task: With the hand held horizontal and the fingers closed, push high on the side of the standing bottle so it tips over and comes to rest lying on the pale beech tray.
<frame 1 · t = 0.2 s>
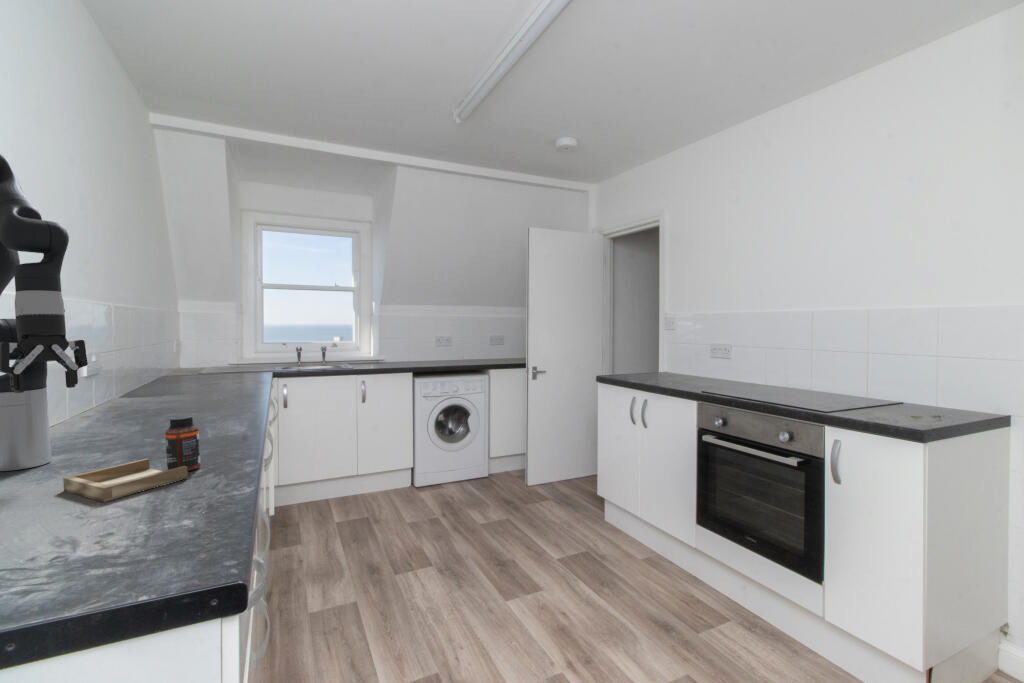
hand: (45, 390, 104), 18 cm above the countertop, tool pointing down, fingers open, 8 cm apart
supplement bottle: (184, 470, 105), on the countertop
beech tray: (127, 484, 95), on the countertop
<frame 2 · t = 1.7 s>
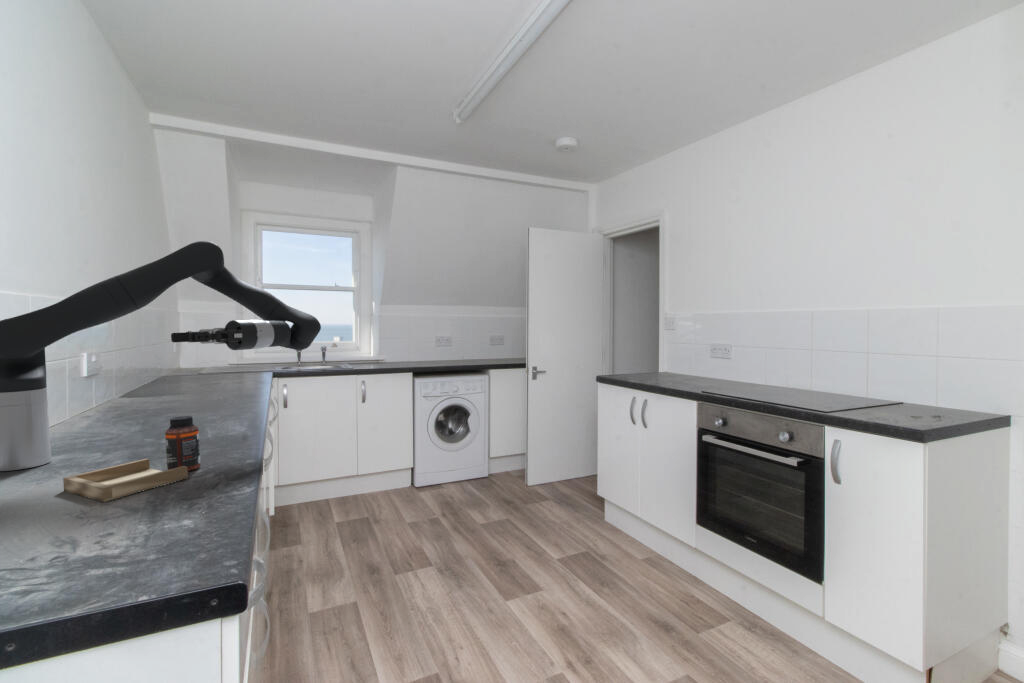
hand: (181, 337, 111), 28 cm above the countertop, tool horizontal, fingers open, 6 cm apart
nothing on the countertop moved.
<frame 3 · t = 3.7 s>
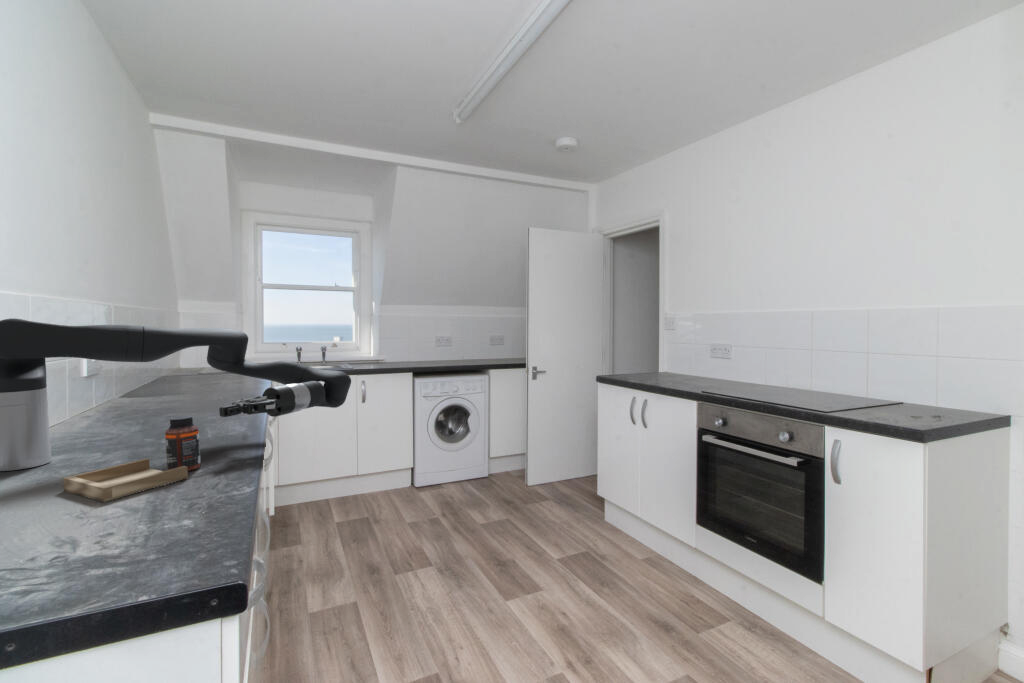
hand: (221, 412, 111), 11 cm above the countertop, tool horizontal, fingers closed
nothing on the countertop moved.
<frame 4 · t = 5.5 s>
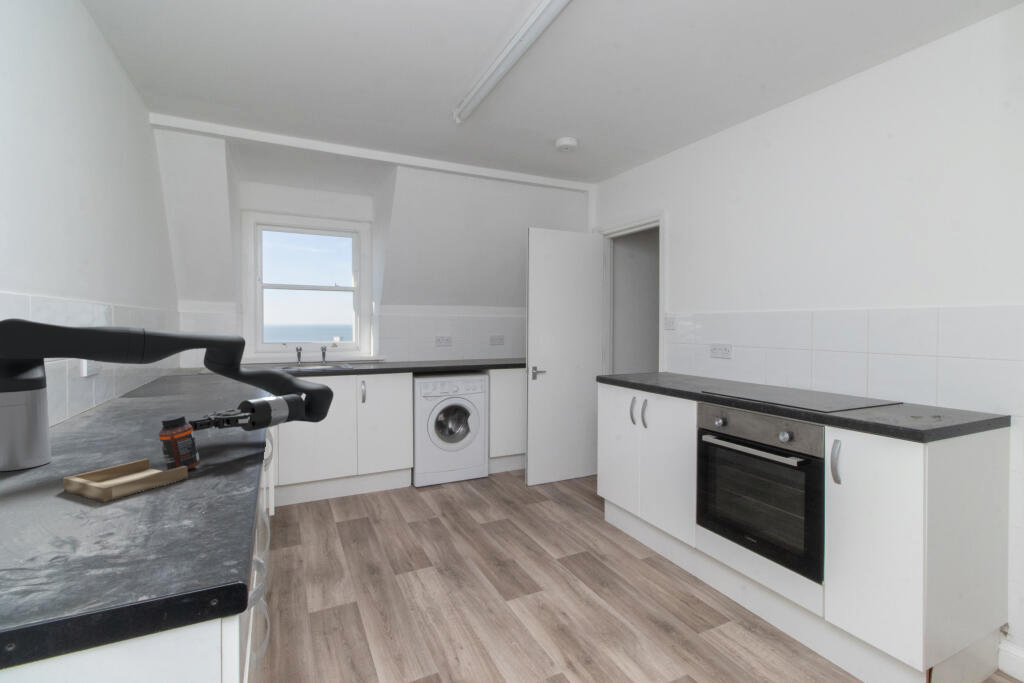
hand: (190, 426, 106), 9 cm above the countertop, tool horizontal, fingers closed
supplement bottle: (184, 468, 105), on the countertop, touching gripper
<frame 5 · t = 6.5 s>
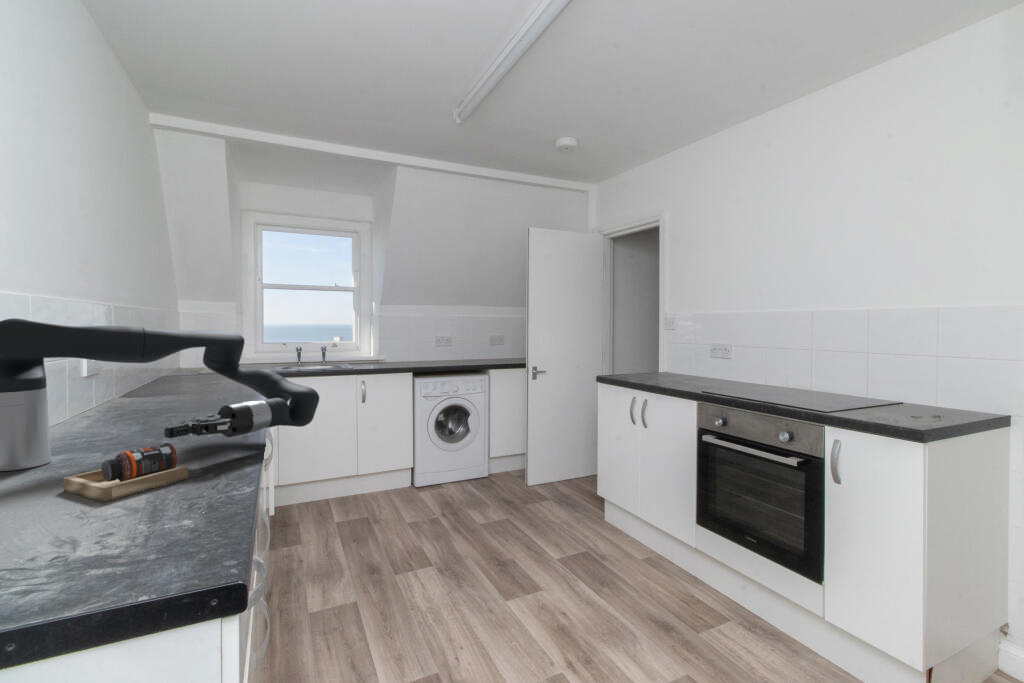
hand: (166, 433, 102), 9 cm above the countertop, tool horizontal, fingers closed
supplement bottle: (172, 456, 103), point 3 cm above the countertop, touching beech tray
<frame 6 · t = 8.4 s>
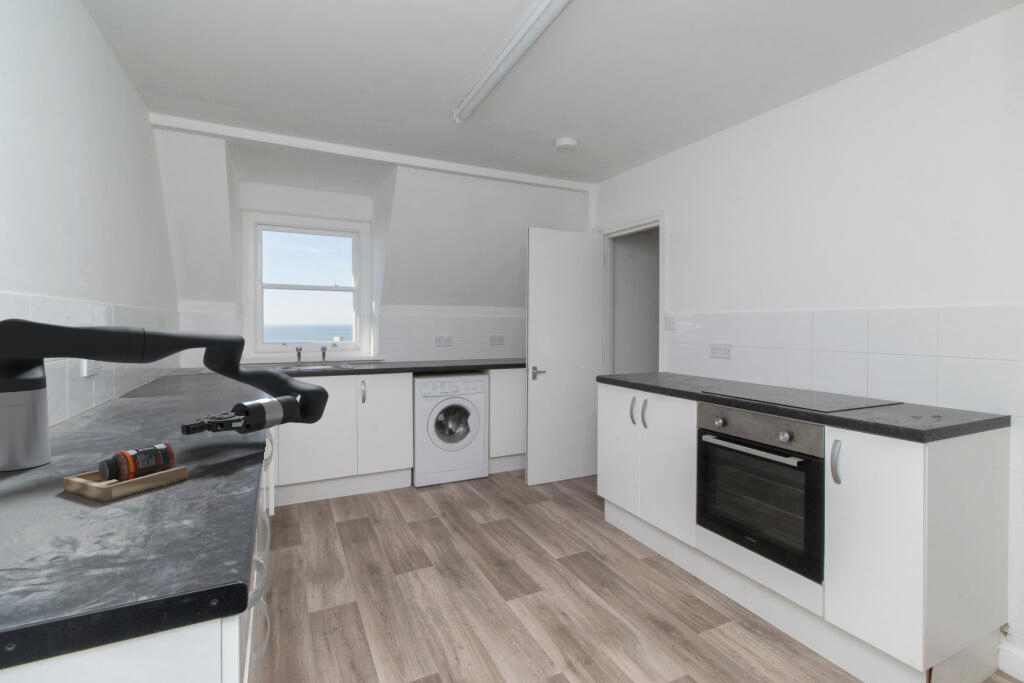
hand: (183, 430, 105), 8 cm above the countertop, tool horizontal, fingers closed
supplement bottle: (169, 455, 103), point 3 cm above the countertop, touching beech tray
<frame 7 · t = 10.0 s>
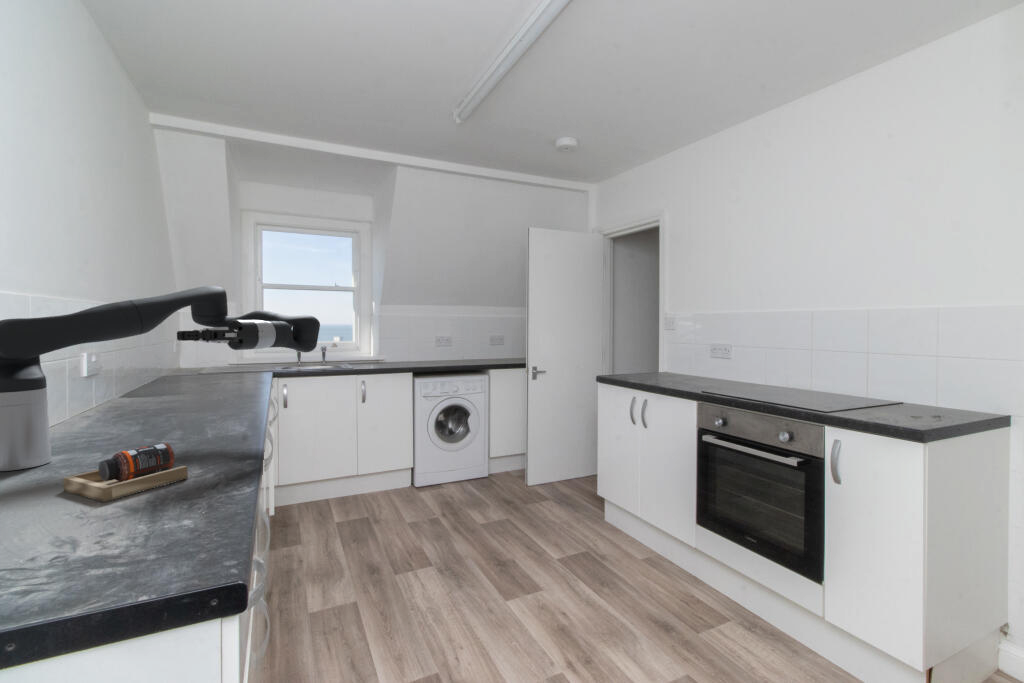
hand: (178, 335, 110), 29 cm above the countertop, tool horizontal, fingers closed
nothing on the countertop moved.
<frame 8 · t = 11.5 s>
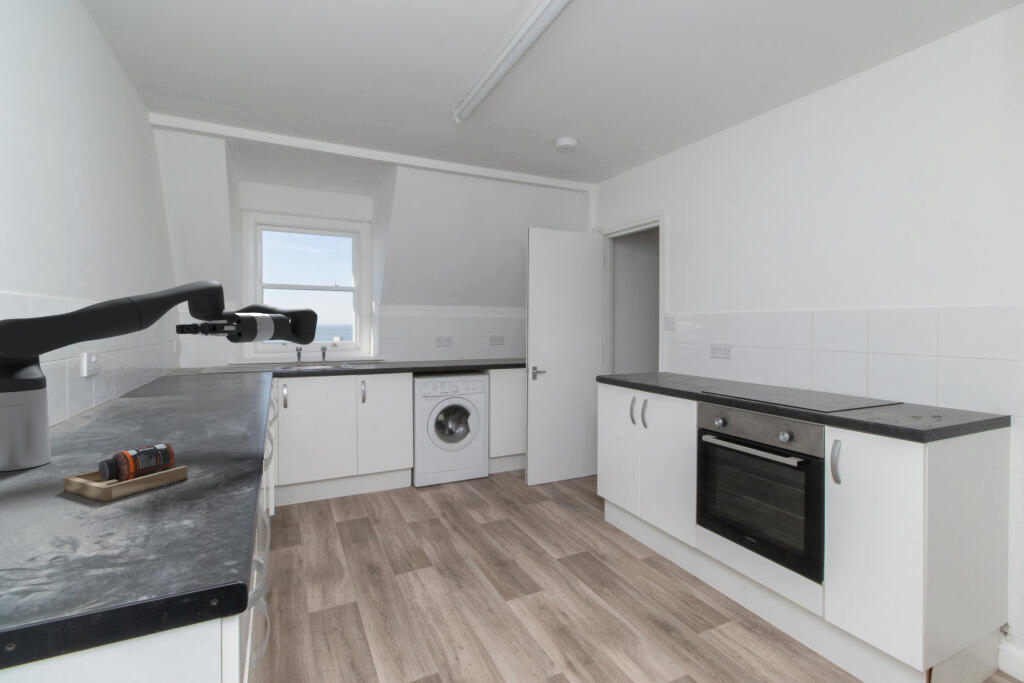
hand: (178, 329, 110), 30 cm above the countertop, tool horizontal, fingers closed
nothing on the countertop moved.
at the end: supplement bottle tilted 90°; supplement bottle inside the target area (6.4 cm from its centre), point 3.5 cm above the countertop; the gripper is holding nothing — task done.
